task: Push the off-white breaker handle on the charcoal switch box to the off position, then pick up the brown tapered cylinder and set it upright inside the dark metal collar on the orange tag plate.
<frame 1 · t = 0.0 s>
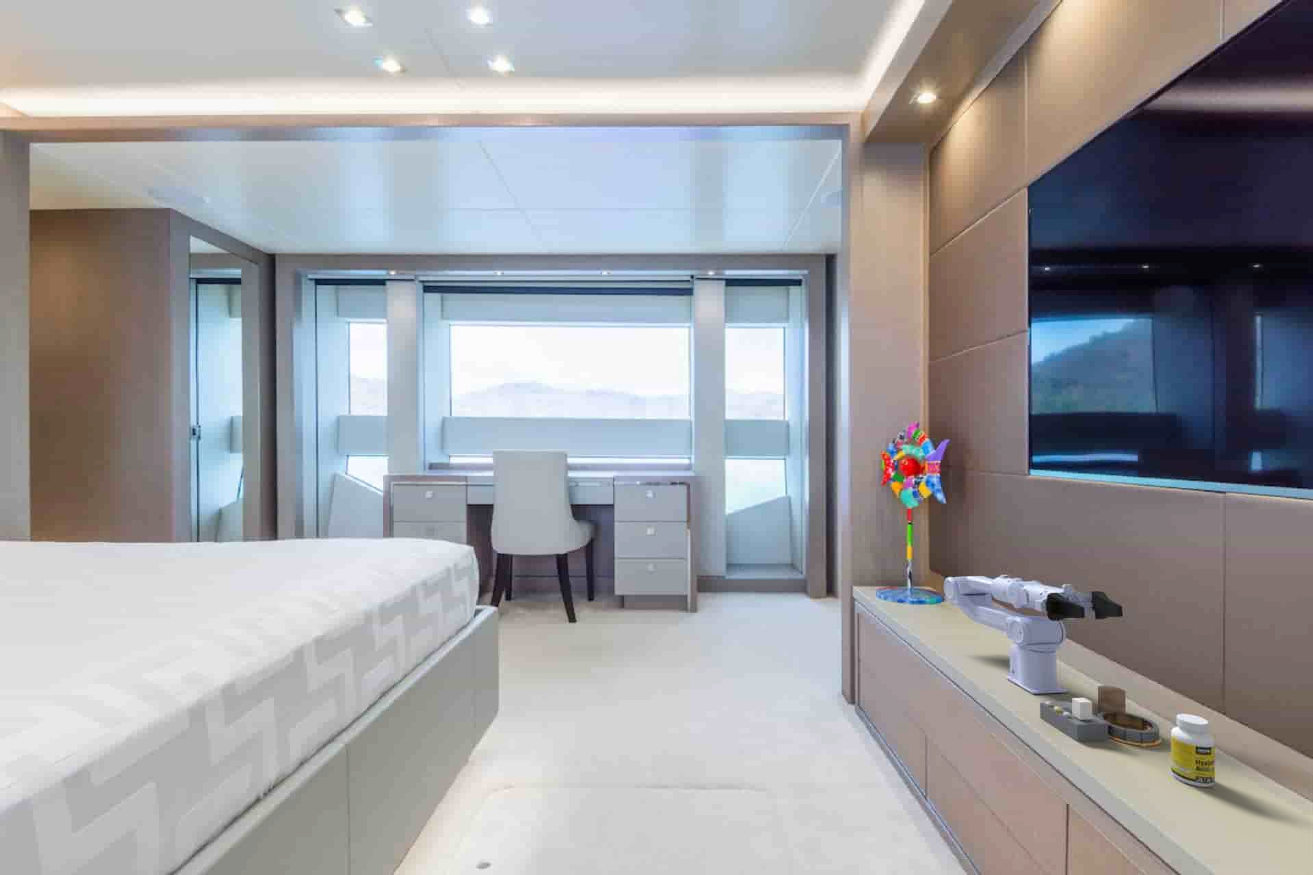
hand: (1101, 611, 123), 22 cm above the table, tool horizontal, fingers open, 7 cm apart
switch box: (1072, 728, 122), on the table
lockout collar: (1127, 733, 119), on the table
supplement bottle: (1192, 780, 103), on the table
breaker handle: (1082, 708, 119), point 5 cm above the table, slide at 0.0 cm
brown tapered cylinder: (1111, 714, 128), on the table
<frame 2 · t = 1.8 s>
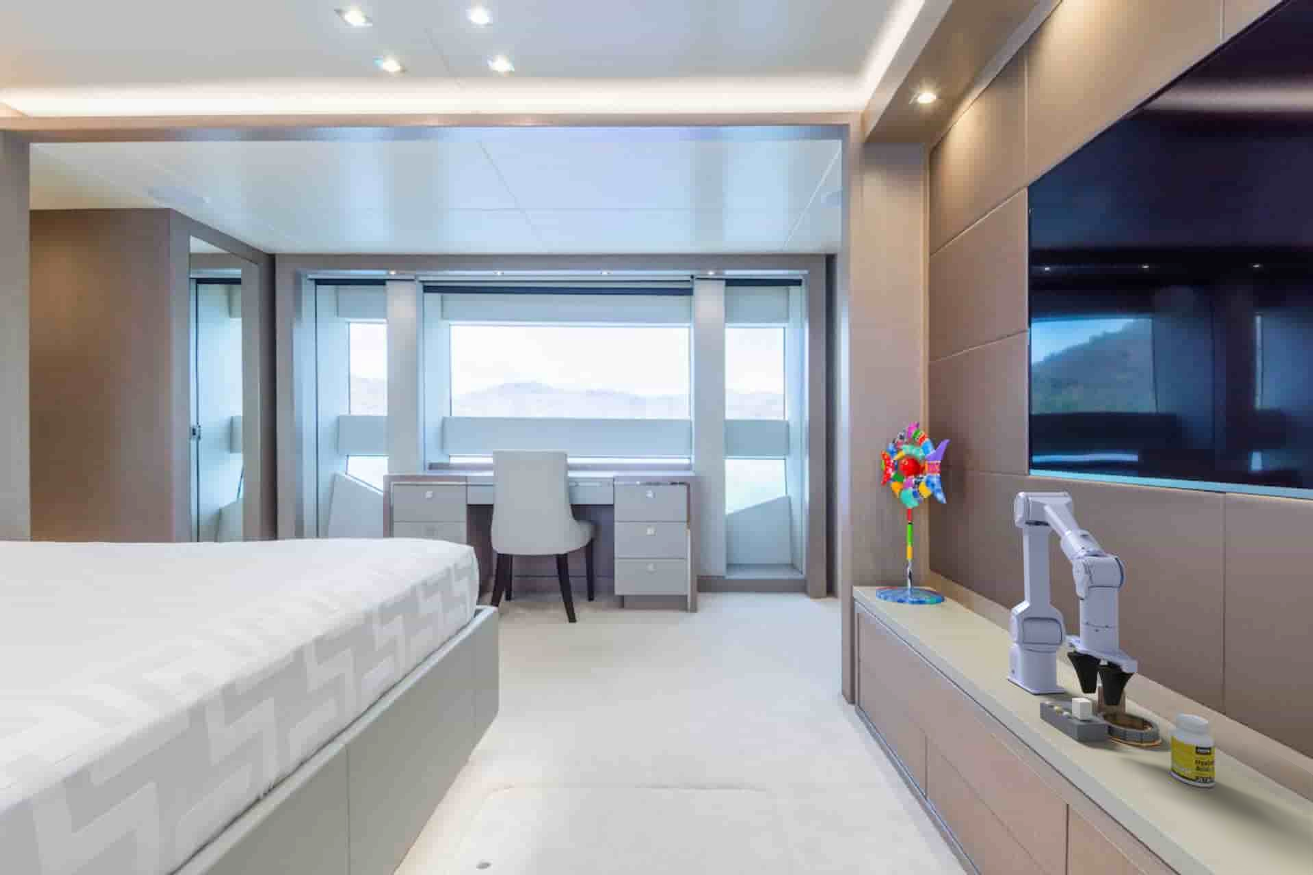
hand: (1100, 698, 115), 8 cm above the table, tool pointing down, fingers open, 5 cm apart
nothing on the table moved.
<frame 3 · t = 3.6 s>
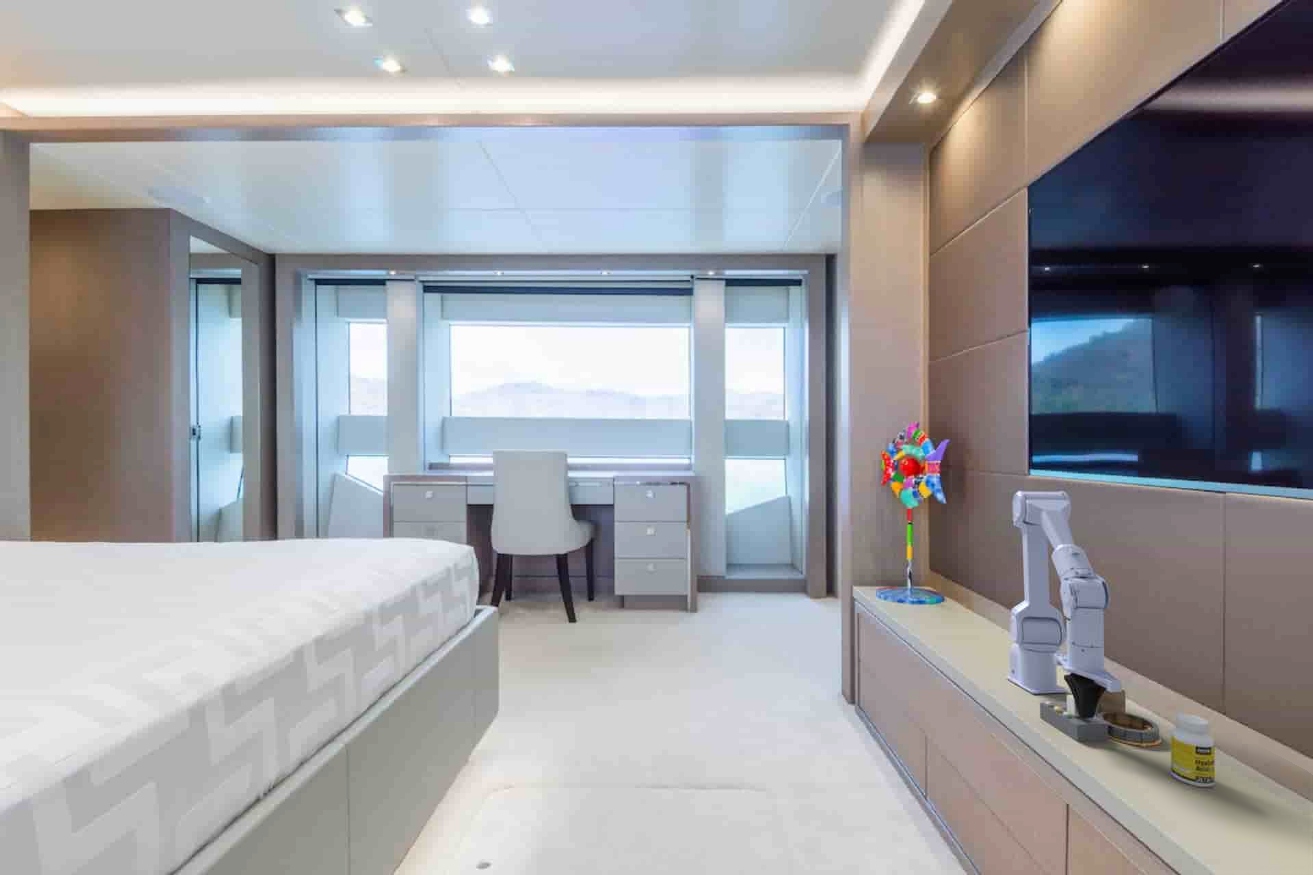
hand: (1086, 716, 118), 4 cm above the table, tool pointing down, fingers closed
breaker handle: (1076, 705, 121), point 5 cm above the table, slide at 1.4 cm, touching gripper
everything else where it was.
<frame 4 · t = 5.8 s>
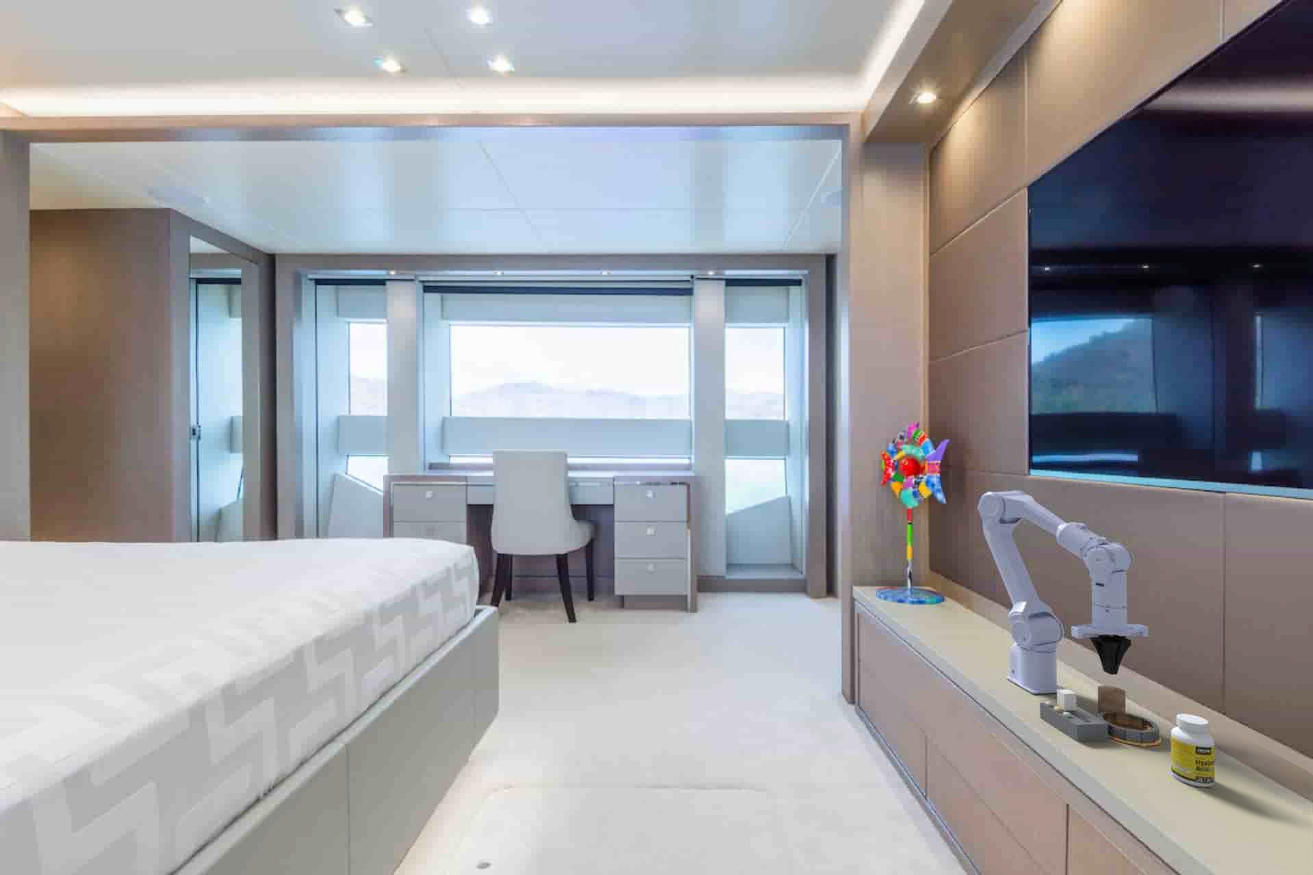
hand: (1110, 672, 128), 8 cm above the table, tool pointing down, fingers closed
breaker handle: (1066, 699, 123), point 5 cm above the table, slide at 4.1 cm
everything else where it was.
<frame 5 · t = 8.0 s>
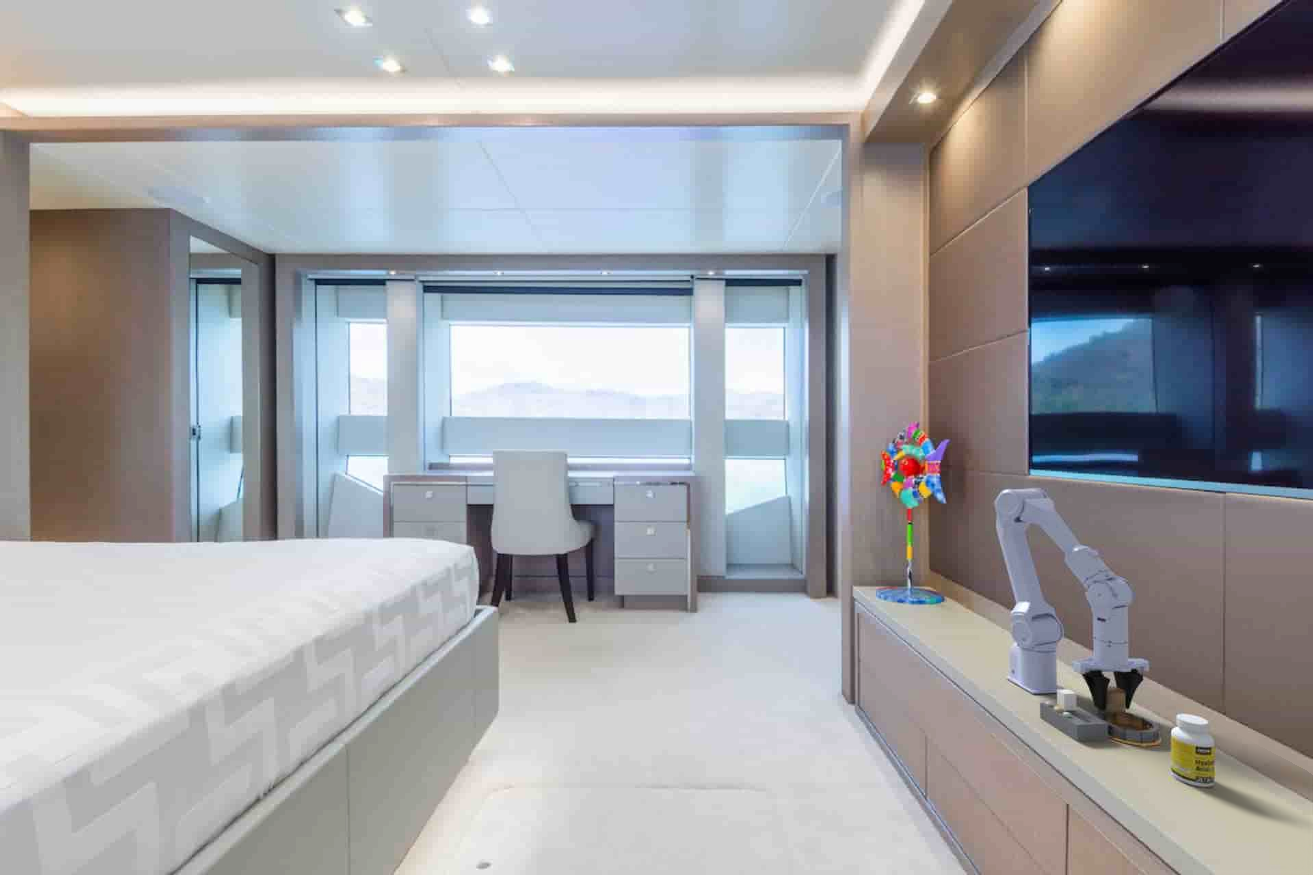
hand: (1111, 707, 128), 1 cm above the table, tool pointing down, fingers closed on brown tapered cylinder, 4 cm apart
brown tapered cylinder: (1111, 714, 128), on the table, touching gripper
everything else where it was.
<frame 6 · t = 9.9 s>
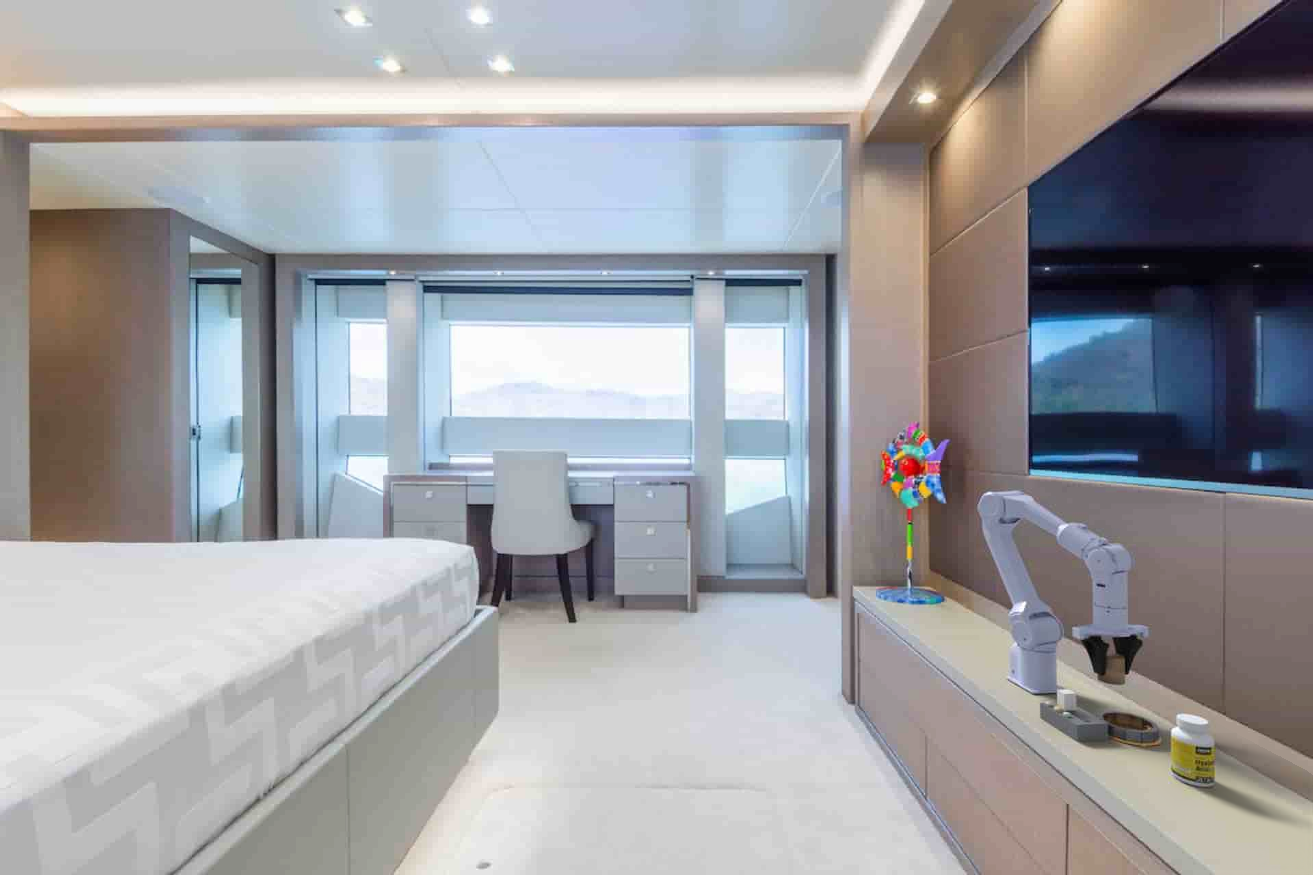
hand: (1111, 673, 128), 8 cm above the table, tool pointing down, fingers closed on brown tapered cylinder, 4 cm apart
brown tapered cylinder: (1111, 680, 128), point 7 cm above the table, touching gripper
everything else where it was.
when the fingers open (3 cm above the table, at t = 12.2 s): brown tapered cylinder drops 1 cm, resting on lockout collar.
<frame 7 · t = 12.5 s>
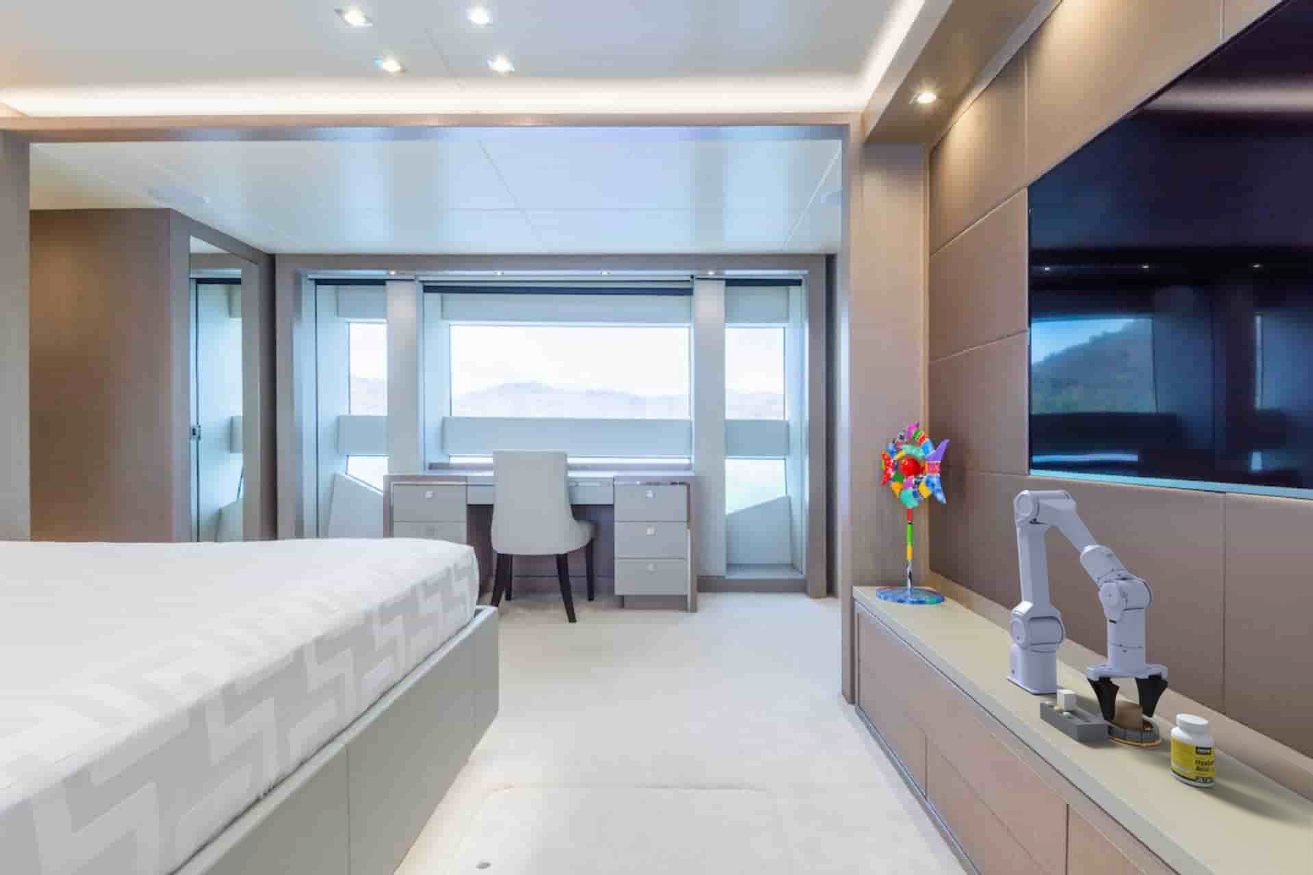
hand: (1127, 716, 120), 3 cm above the table, tool pointing down, fingers open, 7 cm apart
brown tapered cylinder: (1127, 731, 119), resting on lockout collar
everything else where it was.
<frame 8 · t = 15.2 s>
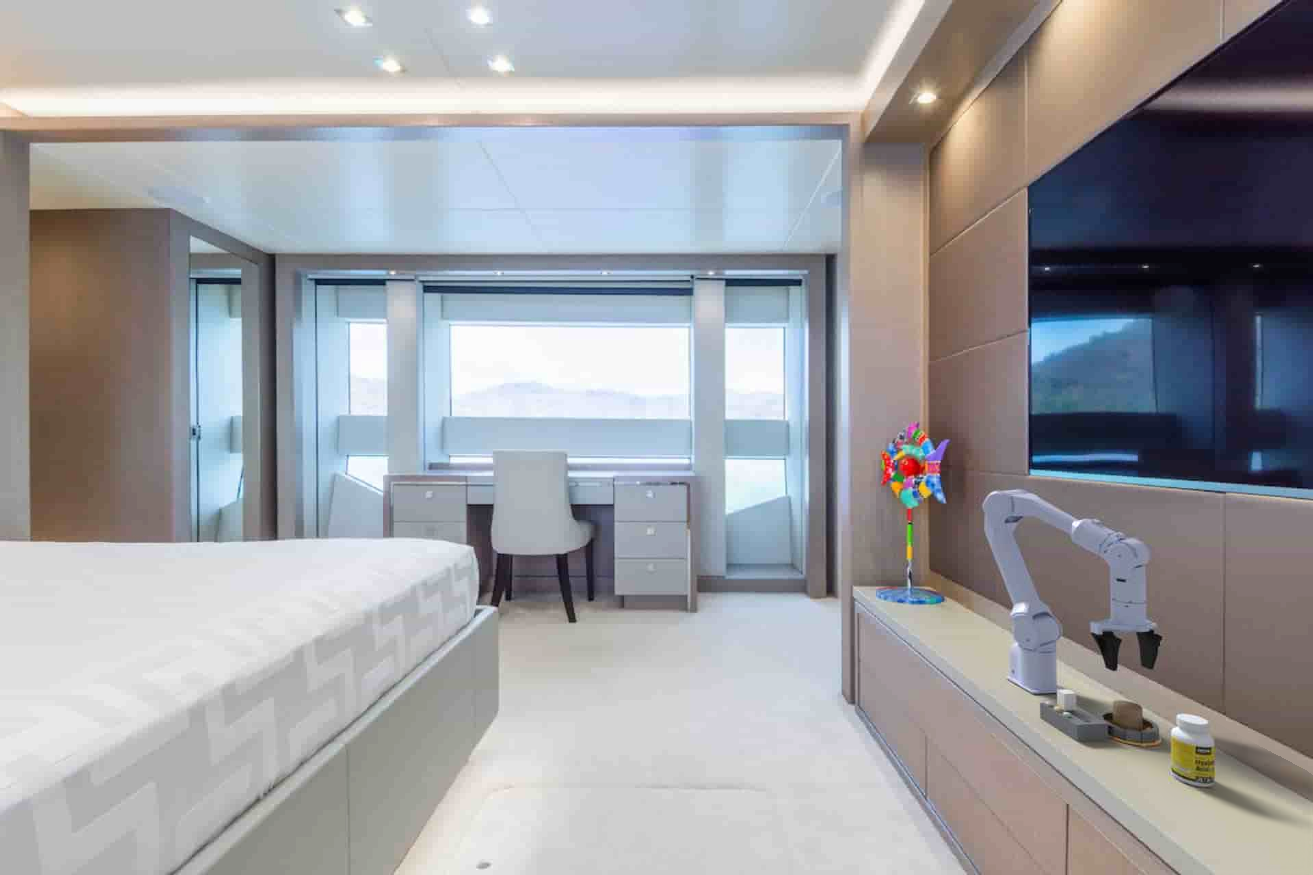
hand: (1129, 668, 127), 9 cm above the table, tool pointing down, fingers open, 7 cm apart
nothing on the table moved.
at the end: breaker handle slide at 4.1 cm; brown tapered cylinder 0.0 cm off-centre on the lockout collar, point 0.3 cm above the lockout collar's base; brown tapered cylinder tilted 0° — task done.
